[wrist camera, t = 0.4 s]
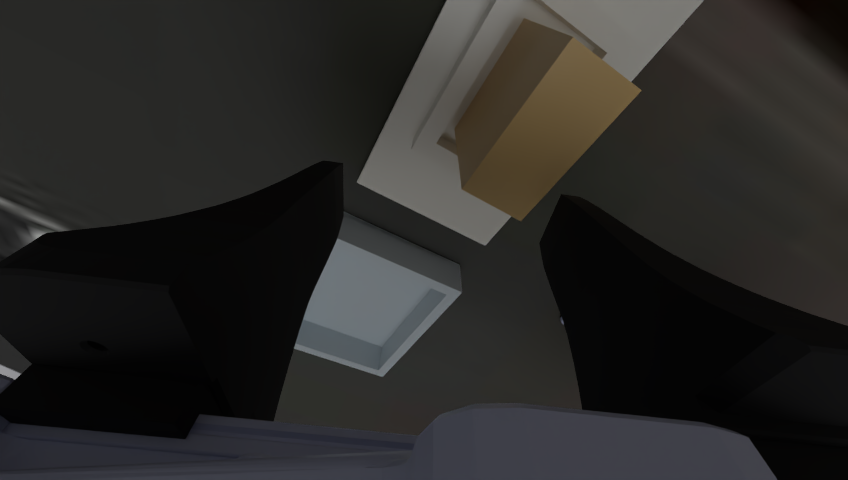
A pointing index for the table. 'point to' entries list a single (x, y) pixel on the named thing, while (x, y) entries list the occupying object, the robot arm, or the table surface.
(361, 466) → the robot arm
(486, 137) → the block
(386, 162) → the box
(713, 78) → the table surface
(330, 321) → the parts tray
